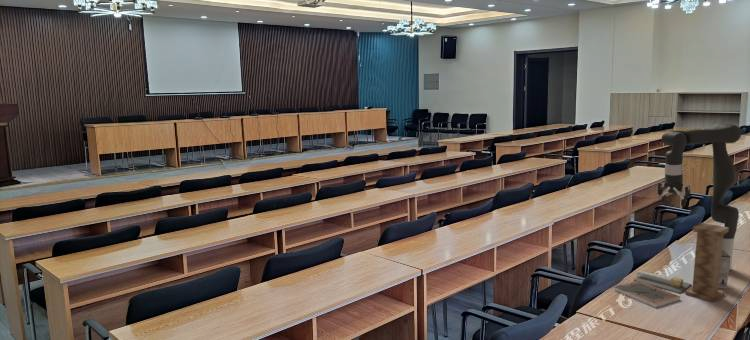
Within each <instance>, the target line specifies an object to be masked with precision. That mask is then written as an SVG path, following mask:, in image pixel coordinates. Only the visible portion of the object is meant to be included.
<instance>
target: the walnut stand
mask: <svg viewBox="0 0 750 340" xmlns="http://www.w3.org/2000/svg"><path fill="white" fill-rule="evenodd" d="M728 230H729V227H724V226H722V225H718V224H712V223H706V222H700V223H698V224H697V225H695V226H693V227H692V232H694V233H697V234H696V243H695V254H694V265H693V266H694V267H693V278H692V285H691V286H690V287H688V288H687V289H686V290H685V295H686V296H690V297H695V298H698V299H701V300H704V301H709V302H713V303H716V302H717V301H719V299H720V298H721V297H723V296H724V295H725V291H724V290H721V289H719V288H718V285H719V275H720V265H721V255H722V245H723V235H724V234H726V233H727V232H728Z"/></svg>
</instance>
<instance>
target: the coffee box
mask: <svg viewBox="0 0 750 340" xmlns="http://www.w3.org/2000/svg"><path fill="white" fill-rule="evenodd" d="M729 264H730V256H729V255H728V254H727V253H726V252H725V251H724V250H722V255H721V265H720V275H719V285H718V289H727V288H728V282H729V281H728V280H729V272H730V271H729Z"/></svg>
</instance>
